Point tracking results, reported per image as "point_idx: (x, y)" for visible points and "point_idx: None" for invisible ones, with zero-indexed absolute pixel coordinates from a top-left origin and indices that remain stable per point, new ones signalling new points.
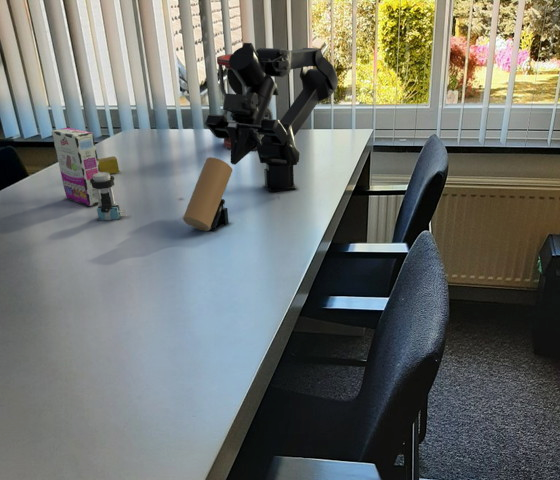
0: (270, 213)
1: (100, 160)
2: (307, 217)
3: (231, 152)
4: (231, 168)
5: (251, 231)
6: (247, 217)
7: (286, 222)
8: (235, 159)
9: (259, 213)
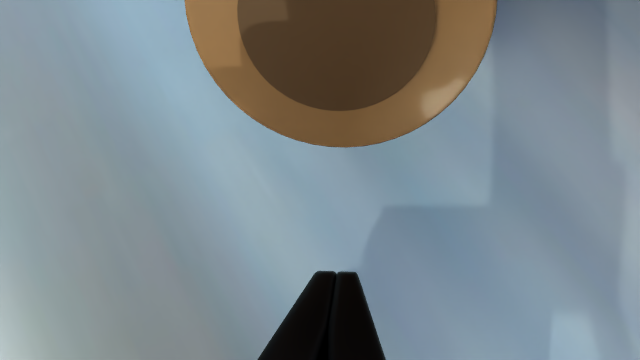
0: (203, 301)
1: None
2: (30, 319)
3: (368, 357)
4: (199, 52)
5: (169, 63)
6: (276, 205)
7: (85, 223)
8: (300, 302)
9: (252, 279)
